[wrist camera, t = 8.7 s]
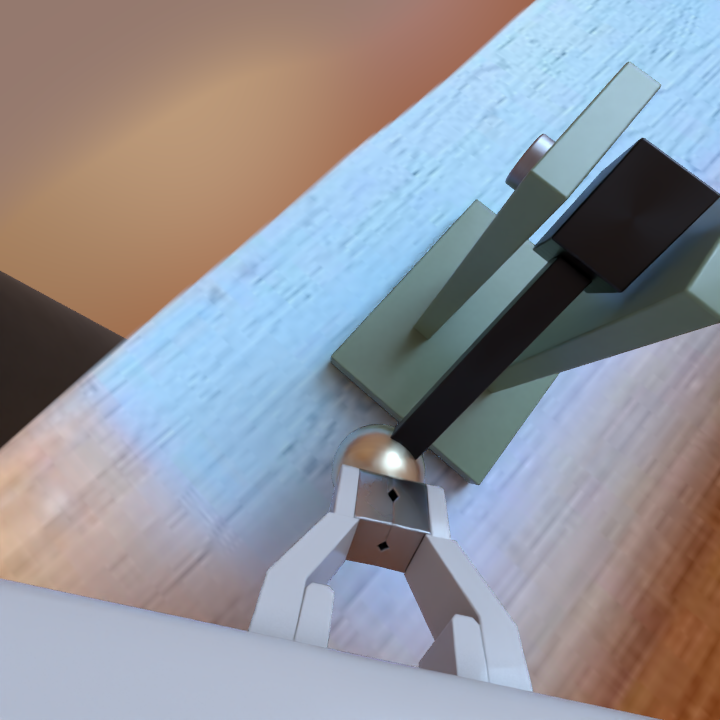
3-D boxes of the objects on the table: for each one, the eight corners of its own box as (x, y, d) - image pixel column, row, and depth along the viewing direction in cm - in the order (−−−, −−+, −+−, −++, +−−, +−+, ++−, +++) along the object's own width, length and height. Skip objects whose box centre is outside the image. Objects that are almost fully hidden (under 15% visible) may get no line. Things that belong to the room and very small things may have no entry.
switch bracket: (469, 483, 18) (731, 551, 6) (329, 362, 18) (339, 226, 7) (593, 311, 21) (930, 143, 9) (468, 211, 21) (636, -61, 10)
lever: (391, 506, 15) (375, 562, 11) (331, 452, 15) (299, 493, 12) (671, 230, 11) (756, 204, 8) (583, 164, 11) (634, 113, 8)
